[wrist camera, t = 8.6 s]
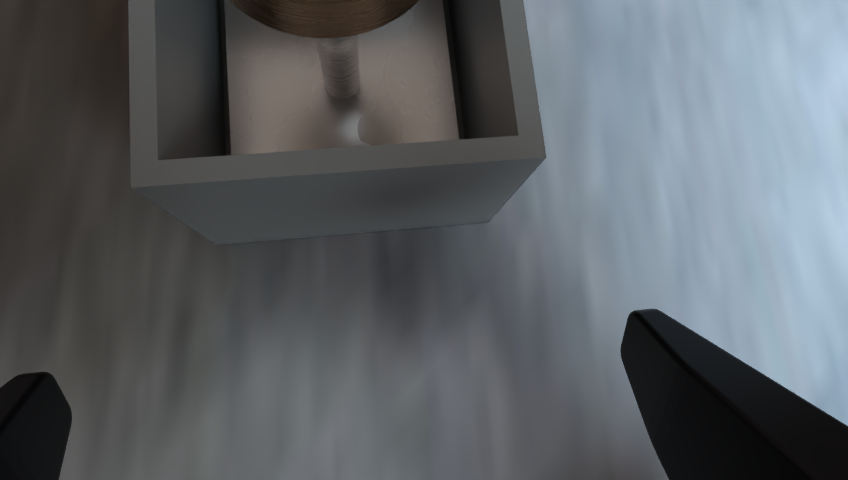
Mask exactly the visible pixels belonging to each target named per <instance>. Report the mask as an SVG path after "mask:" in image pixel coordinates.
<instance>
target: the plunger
mask: <svg viewBox="0 0 848 480" xmlns="http://www.w3.org/2000/svg"><path fill="white" fill-rule="evenodd" d="M224 6H225V28H226V50H227V72H228V94H229V117H230V139H231V155H241V154H256V153H270V152H285V151H300V150H314V149H329V148H344V147H358V146H373V145H387V144H402V143H417V142H431V141H446V140H459V134H458V126H457V117H456V109H455V101H454V92H453V84H452V76H451V67H450V59H449V51H448V42H447V34H446V26H445V17H444V9H443V0H224Z"/></svg>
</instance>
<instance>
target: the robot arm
mask: <svg viewBox="0 0 848 480" xmlns="http://www.w3.org/2000/svg"><path fill="white" fill-rule="evenodd" d="M621 358H622V362H623V365H624V367H625V370H626V373H627V376H628V379H629V381H630V384H631V387H632V390H633V393H634V395H635V398H636V401H637V404H638V407H639V409H640V412H641V415H642V418H643V421H644V423H645V426H646V429H647V432H648V434H649V437H650V439H651V442H652V445H653V447H654V449H655V451H656V453H657V456H658V458H659V460H660V462H661V464H662V466H663V468H664V470H665V472H666V474H667V476H668V478H669V480H848V426H847V425H845V424H844V423H842V422H840V421H839V420H837V419H835V418H834V417H832V416H830V415H829V414H827V413H826V412H824V411H822V410H821V409H819V408H817V407H816V406H814V405H813V404H811V403H809V402H808V401H806V400H804V399H803V398H801V397H800V396H798V395H796V394H795V393H793V392H791V391H790V390H788V389H787V388H785V387H783V386H782V385H780V384H778V383H777V382H775V381H774V380H772V379H770V378H769V377H767V376H765V375H764V374H762V373H760V372H759V371H757V370H756V369H754V368H752V367H751V366H749V365H747V364H746V363H744V362H743V361H741V360H739V359H738V358H736V357H734V356H733V355H731V354H730V353H728V352H726V351H725V350H723V349H721V348H720V347H718V346H717V345H715V344H713V343H712V342H710V341H708V340H707V339H705V338H703V337H702V336H700V335H699V334H697V333H695V332H694V331H692V330H690V329H689V328H687V327H686V326H684V325H682V324H681V323H679V322H677V321H676V320H674V319H673V318H671V317H669V316H668V315H666V314H664V313H663V312H661V311H659V310H657V309H644V310H635V311H633V312H631V313H630V314H629V316H628V319H627V324H626V328H625V332H624V336H623V340H622V344H621ZM71 422H72V412H71V408H70V406H69V404H68V402H67V400H66V398H65V396H64V395H63V393H62V391H61V389H60V387H59V385H58V383H57V382H56V380H55V378H54V377H53V375H51V374H50V373H48V372H36V373H27V374H21V375H18V376H15V377H14V378H13V379H11V380H10V381H9V382H7V383H6V384H5V385H3V386H2V387H1V388H0V480H59V476H60V472H61V467H62V463H63V458H64V454H65V450H66V445H67V441H68V436H69V432H70V428H71Z"/></svg>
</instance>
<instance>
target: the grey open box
mask: <svg viewBox="0 0 848 480" xmlns="http://www.w3.org/2000/svg"><path fill="white" fill-rule="evenodd" d="M443 9H444V17H445V26H446V34H447V42H448V51H449V59H450V67H451V76H452V84H453V92H454V101H455V109H456V117H457V126H458V134H459V140H446V141H431V142H417V143H402V144H387V145H373V146H358V147H344V148H329V149H314V150H300V151H285V152H270V153H256V154H241V155H231V139H230V117H229V94H228V72H227V50H226V28H225V6H224V0H128V16H129V97H130V179H131V188H132V189H133V190H135V191H136V192H138V193H139V194H141V195H142V196H144V197H145V198H147V199H148V200H150V201H151V202H153V203H154V204H156V205H157V206H159V207H160V208H162V209H163V210H165V211H166V212H168V213H169V214H171V215H172V216H174V217H175V218H177V219H178V220H180V221H181V222H183V223H184V224H186V225H187V226H189V227H190V228H192V229H193V230H195V231H196V232H197V233H199V234H200V235H202V236H203V237H205V238H206V239H208V240H209V241H211V242H212V243H214V244H215V245H224V244H236V243H248V242H260V241H272V240H284V239H296V238H308V237H320V236H332V235H344V234H356V233H368V232H380V231H391V230H403V229H415V228H427V227H439V226H451V225H463V224H475V223H487V222H489V221H490V220H491V219H492V218H493V216H494V215H495V214H496V213H497V212H498V211H499V210H500V209H501V208H502V206H503V205H504V204H505V203H506V202H507V201H508V200H509V199H510V197H511V196H512V195H513V194H514V193H515V192H516V191H517V190H518V188H519V187H520V186H521V185H522V184H523V183H524V182H525V181H526V179H527V178H528V177H529V176H530V175H531V174H532V173H533V172H534V171H535V169H536V168H537V167H538V166H539V165H540V164H541V163H542V162H543V160H544V159H545V158H546V153H545V146H544V139H543V132H542V126H541V119H540V112H539V105H538V99H537V92H536V85H535V78H534V71H533V65H532V58H531V51H530V44H529V37H528V31H527V24H526V17H525V10H524V3H523V0H443Z"/></svg>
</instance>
